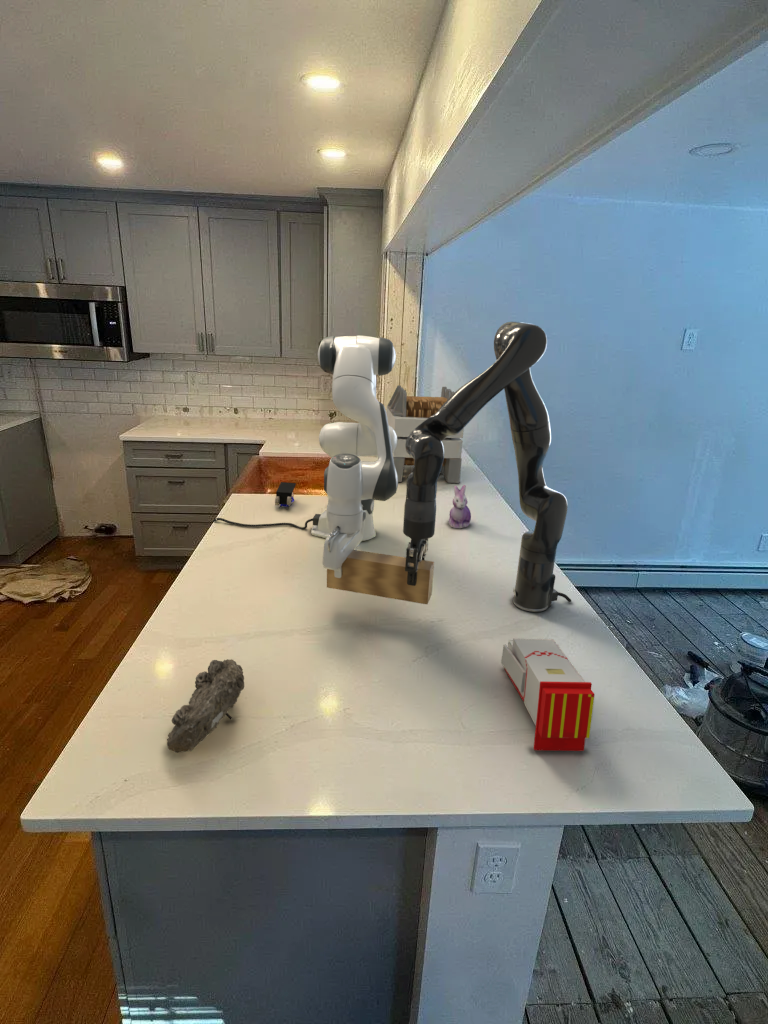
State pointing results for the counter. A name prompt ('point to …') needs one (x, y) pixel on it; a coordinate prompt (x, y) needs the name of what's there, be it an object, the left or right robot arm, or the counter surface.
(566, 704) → the toy
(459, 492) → the figurine
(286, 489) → the figurine character
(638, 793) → the counter surface
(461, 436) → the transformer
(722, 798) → the counter surface
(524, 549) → the right robot arm
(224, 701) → the fossil
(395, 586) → the bar
